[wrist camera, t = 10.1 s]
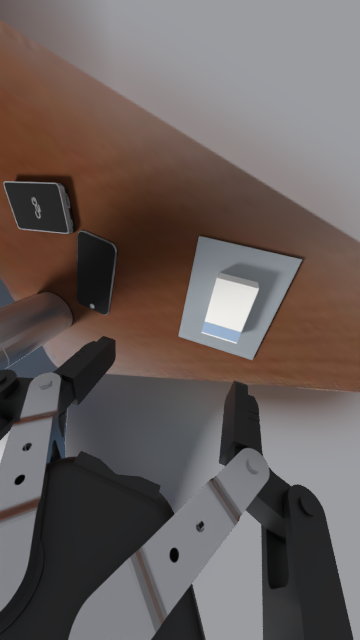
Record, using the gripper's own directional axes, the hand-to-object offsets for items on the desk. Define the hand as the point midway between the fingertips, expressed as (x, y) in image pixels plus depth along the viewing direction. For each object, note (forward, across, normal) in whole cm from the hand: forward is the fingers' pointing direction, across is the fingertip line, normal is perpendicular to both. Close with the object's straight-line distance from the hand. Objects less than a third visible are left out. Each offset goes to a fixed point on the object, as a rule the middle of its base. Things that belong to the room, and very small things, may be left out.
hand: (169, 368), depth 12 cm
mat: (+21, -4, +4) cm, 22 cm away
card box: (+20, -4, +4) cm, 21 cm away
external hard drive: (+22, +30, -4) cm, 38 cm away
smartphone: (+22, +21, +6) cm, 31 cm away
